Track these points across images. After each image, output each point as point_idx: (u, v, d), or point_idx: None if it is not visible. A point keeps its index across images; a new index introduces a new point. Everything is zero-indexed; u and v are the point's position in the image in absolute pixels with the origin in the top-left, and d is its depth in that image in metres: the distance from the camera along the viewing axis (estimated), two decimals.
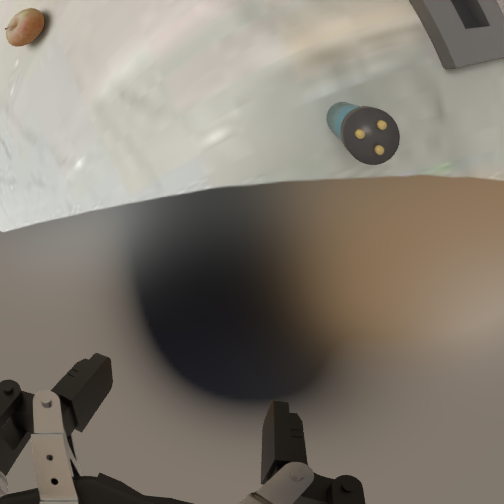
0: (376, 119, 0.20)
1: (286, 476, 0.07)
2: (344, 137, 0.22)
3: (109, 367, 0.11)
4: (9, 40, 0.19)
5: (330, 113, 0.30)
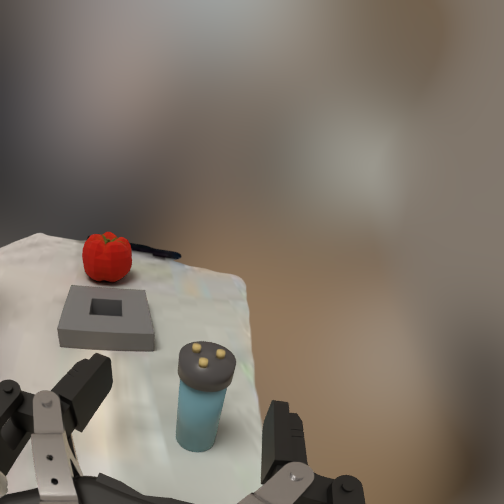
0: (191, 351, 0.24)
1: (286, 476, 0.07)
2: (206, 377, 0.21)
3: (109, 367, 0.11)
4: None
5: (185, 439, 0.24)
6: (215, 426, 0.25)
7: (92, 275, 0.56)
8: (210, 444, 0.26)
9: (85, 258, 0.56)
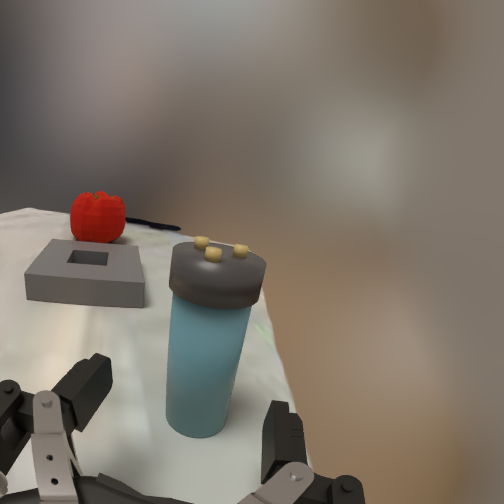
0: (192, 248, 0.16)
1: (286, 476, 0.07)
2: (218, 275, 0.13)
3: (109, 367, 0.11)
4: None
5: (179, 414, 0.16)
6: (228, 391, 0.16)
7: (79, 235, 0.48)
8: (219, 425, 0.17)
9: (73, 216, 0.47)
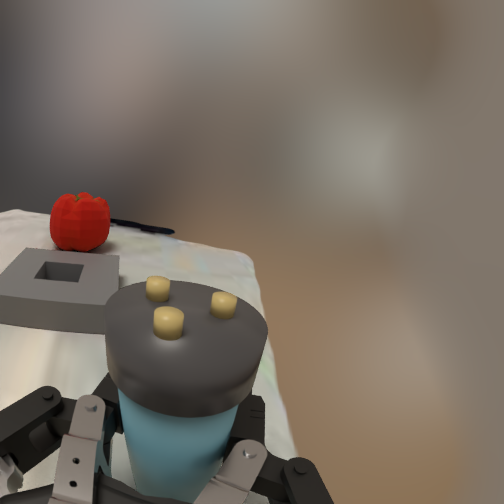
0: (142, 298, 0.09)
1: (240, 455, 0.08)
2: (173, 371, 0.06)
3: None
4: None
5: None
6: None
7: (58, 241, 0.41)
8: None
9: (52, 220, 0.40)
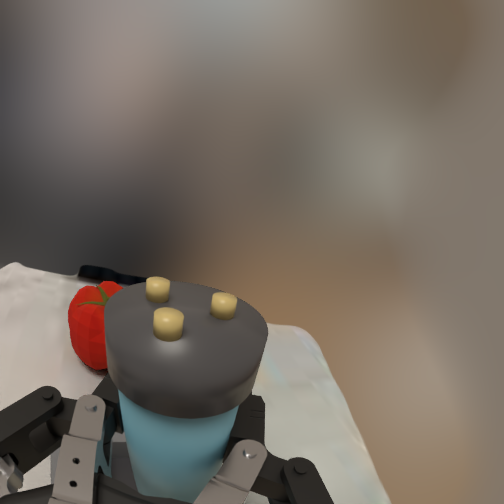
0: (142, 299, 0.09)
1: (240, 455, 0.08)
2: (173, 372, 0.06)
3: None
4: None
5: None
6: None
7: (89, 364, 0.30)
8: None
9: (74, 336, 0.29)
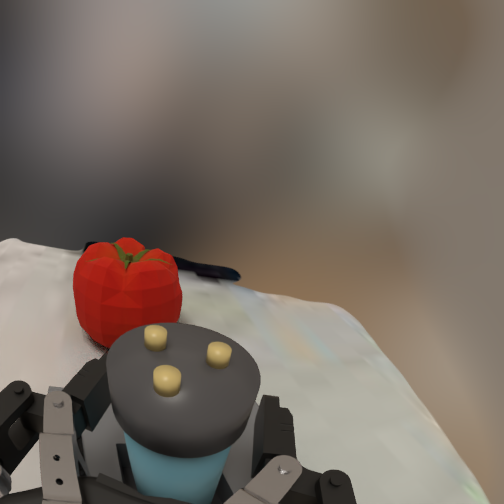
0: (141, 347, 0.09)
1: (274, 470, 0.07)
2: (173, 427, 0.06)
3: None
4: None
5: None
6: (210, 497, 0.10)
7: (98, 339, 0.24)
8: None
9: (80, 301, 0.23)
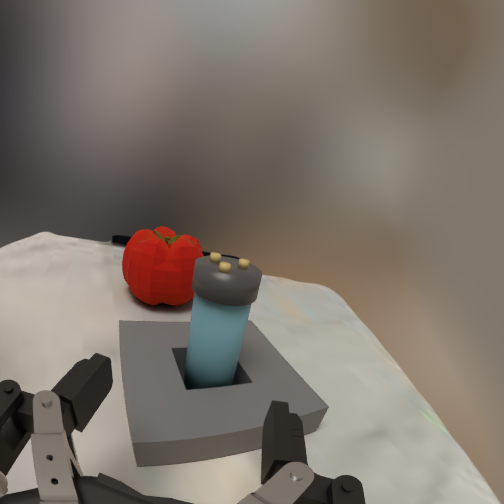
0: (208, 261, 0.22)
1: (286, 476, 0.07)
2: (228, 282, 0.19)
3: (109, 367, 0.11)
4: None
5: (195, 387, 0.22)
6: (233, 367, 0.22)
7: (145, 297, 0.36)
8: None
9: (133, 269, 0.36)
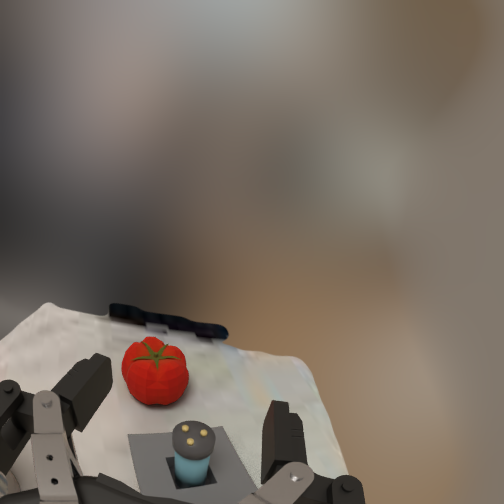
0: (181, 431, 0.27)
1: (286, 476, 0.07)
2: (192, 453, 0.25)
3: (109, 367, 0.11)
4: None
5: (182, 483, 0.28)
6: (204, 476, 0.28)
7: (143, 401, 0.42)
8: None
9: (131, 384, 0.41)
